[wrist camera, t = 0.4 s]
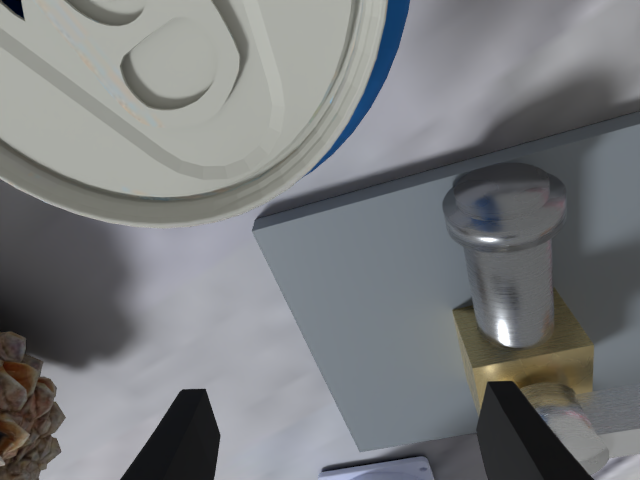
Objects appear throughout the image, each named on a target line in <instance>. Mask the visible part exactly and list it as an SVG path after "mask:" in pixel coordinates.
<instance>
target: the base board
mask: <svg viewBox="0 0 640 480" xmlns="http://www.w3.org/2000/svg"><path fill="white" fill-rule="evenodd" d="M502 163H523V164H529V165H533V166H536V167H538V168H540V169H542V170H544V171H545V172H547V173H549V174H552V175H554V176H555V177H557V178H558V179H560V180H561V181H562V183H563V184H564V185H565V187H566V192H567V219H566V223H565V225H564V227H563V229H562V230H561V231H560V232H559V233H558V234H557V235H556V236H555V237H553V238H552V264H553V287H555V289H556V290H557V292H558V293H559V295H560V296H561V298H562V299H563V301H564V302H565V303H566V305H567V306H568V308H569V309H570V311H571V312H572V314H573V315H574V317H575V318H576V319H577V321H578V322H579V324H580V325H581V327H582V328H583V330H584V331H585V333H586V334H587V335H588V337H589V338H590V340H591V341H592V343H593V344H594V362H593V390H592V392H593V391H599V390H605V389H610V388H616V387H622V386H628V385H633V384H639V383H640V111H639V112H635V113H632V114H628V115H625V116H621V117H617V118H614V119H610V120H607V121H603V122H600V123H596V124H593V125H589V126H585V127H582V128H578V129H575V130H571V131H568V132H564V133H561V134H557V135H554V136H550V137H546V138H543V139H539V140H536V141H532V142H529V143H525V144H522V145H518V146H514V147H511V148H507V149H504V150H500V151H497V152H493V153H490V154H486V155H483V156H479V157H475V158H472V159H468V160H465V161H461V162H458V163H454V164H451V165H447V166H443V167H440V168H436V169H433V170H429V171H426V172H422V173H419V174H415V175H412V176H408V177H404V178H401V179H397V180H394V181H390V182H387V183H383V184H380V185H376V186H372V187H369V188H365V189H362V190H358V191H355V192H351V193H348V194H344V195H341V196H337V197H333V198H330V199H326V200H323V201H319V202H316V203H312V204H309V205H305V206H301V207H298V208H294V209H291V210H287V211H284V212H280V213H277V214H273V215H270V216H266V217H262V218H259V219H255V222H254V226H253V229H252V232H253V234H254V237H255V239H256V241H257V243H258V245H259V247H260V249H261V251H262V253H263V255H264V257H265V259H266V261H267V263H268V265H269V267H270V269H271V271H272V273H273V275H274V277H275V280H276V282H277V284H278V286H279V288H280V290H281V292H282V294H283V296H284V298H285V300H286V302H287V304H288V306H289V308H290V310H291V312H292V314H293V316H294V318H295V320H296V323H297V325H298V327H299V329H300V331H301V333H302V335H303V337H304V339H305V341H306V343H307V345H308V347H309V349H310V351H311V353H312V355H313V357H314V359H315V361H316V363H317V366H318V368H319V370H320V372H321V374H322V376H323V378H324V380H325V382H326V384H327V386H328V388H329V390H330V392H331V394H332V396H333V398H334V400H335V402H336V404H337V407H338V409H339V411H340V413H341V415H342V417H343V419H344V421H345V423H346V425H347V427H348V429H349V431H350V433H351V435H352V437H353V439H354V441H355V443H356V445H357V447H358V450H359V452H364V451H370V450H376V449H382V448H388V447H394V446H400V445H406V444H413V443H419V442H425V441H431V440H437V439H443V438H449V437H455V436H461V435H467V434H473V433H477V432H476V428H477V423H478V419H479V416H478V413H477V410H476V407H475V404H474V401H473V398H472V395H471V392H470V389H469V386H468V383H467V379H466V375H465V370H464V365H463V360H462V356H461V351H460V346H459V341H458V337H457V332H456V327H455V322H454V318H453V313H452V310H453V309H458V308H462V307H467V306H471V305H473V301H472V295H471V289H470V284H469V278H468V272H467V266H466V260H465V255H464V249H463V246H461V245H460V244H458V243H456V242H455V241H454V240H453V239H452V238H451V237H450V236H449V234H448V232H447V228H446V223H445V218H444V213H443V208H442V203H443V199H444V197H445V195H446V194H447V192H448V191H449V190H450V189H451V188H452V187H455V185H456V184H457V182H458V181H459V180H460V179H461V178H463V177H464V176H465V175H467V174H469V173H470V172H472V171H475V170H477V169H480V168H483V167H486V166H490V165H495V164H502Z"/></svg>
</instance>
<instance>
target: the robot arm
mask: <svg viewBox="0 0 640 480" xmlns="http://www.w3.org/2000/svg"><path fill="white" fill-rule="evenodd" d="M476 432H477V436H478V441H479V445H480V450H481V454H482V458H483V462H484V466H485V470H486V474H487V477H488V480H594V479H593V478H592V477H591V476H590V475H589V474H588V473H587V471H586V470H585V469H584V468H583V467H582V466H581V464H580V463H579V462H578V461H577V460H576V459H575V457H574V456H573V455H572V454H571V453H570V452H569V450H568V449H567V448H566V447H565V446H564V444H563V443H562V442H561V441H560V440H559V438H558V437H557V436H556V435H555V434H554V432H553V431H552V430H551V429H550V427H549V426H548V425H547V424H546V422H545V421H544V420H543V419H542V417H541V416H540V415H539V414H538V412H537V411H536V410H535V408H534V407H533V406H532V405H531V403H530V402H529V401H528V399H527V398H526V397H525V395H524V394H523V393H522V392H521V390H520V389H519V388H518V386H517V385H516V384H515V383H514V382H513V381H487V385H486V389H485V393H484V398H483V402H482V406H481V411H480V415H479V419H478V423H477V428H476ZM219 442H220V432H219V429H218V426H217V423H216V420H215V417H214V414H213V411H212V408H211V404H210V401H209V398H208V395H207V392H206V389H183V390H181V391H180V392H179V394H178V395H177V397H176V399H175V400H174V402H173V403H172V405H171V406H170V408H169V409H168V411H167V413H166V414H165V416H164V417H163V419H162V420H161V422H160V423H159V425H158V426H157V428H156V429H155V431H154V432H153V434H152V435H151V437H150V438H149V440H148V441H147V443H146V444H145V446H144V447H143V448H142V450H141V451H140V453H139V454H138V455H137V457H136V458H135V460H134V461H133V463H132V464H131V465H130V467H129V468H128V470H127V471H126V472H125V474H124V475H123V477H122V478H121V479H120V480H214V476H215V470H216V463H217V457H218V449H219ZM318 480H435V479H434V476H433V473H432V470H431V467H430V464H429V461H428V459H427V458H426V457H422V456H421V457H413V458H407V459H401V460H395V461H388V462H382V463H376V464H370V465H363V466H357V467H351V468H345V469H338V470H332V471H326V472H321V473H320V474H319V475H318Z"/></svg>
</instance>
